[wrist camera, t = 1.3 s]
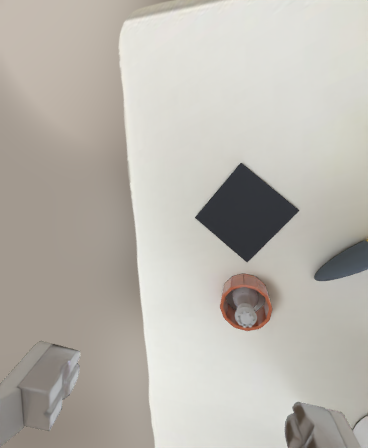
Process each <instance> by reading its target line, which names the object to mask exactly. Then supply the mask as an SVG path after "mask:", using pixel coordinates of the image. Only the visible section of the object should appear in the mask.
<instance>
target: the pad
mask: <svg viewBox="0 0 368 448" xmlns="http://www.w3.org/2000/svg"><path fill="white" fill-rule="evenodd" d="M298 211H299V210H298V209H297V208H296V207H294V206H293V205H292V204H291V203H289V202H288V201H287V200H286V199H285V198H283V197H282V196H281V195H280V194H278V193H277V192H276V191H275V190H274V189H272V188H271V187H270V186H269V185H267V184H266V183H265V182H264V181H263V180H261V179H260V178H259V177H258V176H256V175H255V174H254V173H253V172H252V171H250V170H249V169H248V168H247V167H246V166H244V165H243V164H242V163H240V165H239V166H238V167H237V168H236V169H235V171H234V172H233V173H232V174H231V175H230V177H229V178H228V179H227V180H226V181H225V182H224V184H223V185H222V186H221V187H220V188H219V190H218V191H217V192H216V193H215V194H214V196H213V197H212V198H211V199H210V200H209V202H208V203H207V204H206V205H205V206H204V208H203V209H202V210H201V211H200V212H199V213H198V215H197V216H196V217H195V218H196V219H197V220H198V221H200V222H201V223H202V224H203V225H204V226H205V227H207V228H208V229H209V230H210V231H211V232H212V233H214V234H215V235H216V236H217V237H218V238H219V239H221V240H222V241H223V242H224V243H225V244H226V245H227V246H229V247H230V248H231V249H232V250H233V251H234V252H236V253H237V254H238V255H239V256H240V257H241V258H243V259H244V260H245V261H246V262H248V261H249V260H250V259H251V258H252V257H253V256H254V255H255V254H256V253H257V252H258V251H259V250H260V249H261V248H262V247H263V246H264V245H265V244H266V243H267V242H268V241H269V240H270V239H271V238H272V237H273V236H274V235H275V234H276V233H277V232H278V231H279V230H280V229H281V228H282V227H283V226H284V225H285V224H286V223H287V222H288V221H289V220H290V219H291V218H292V217H293V216H294V215H295V214H296V213H297V212H298Z"/></svg>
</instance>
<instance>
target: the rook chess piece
mask: <svg viewBox="0 0 368 448" xmlns="http://www.w3.org/2000/svg"><path fill="white" fill-rule="evenodd" d="M232 296H233V302H234V304H235V305H236V306H237V310H236V312H235V319H236V321H237V322H238V324H239V325H242V326H243V328H246V327H248V326H249V328H250V327H252V325H254V324H255V322H256V320H257V315H256V313H255V310H254V307H255V306H256V305H257V302H258V295H257V292H256V290H255V289H251V288H247V287H241V288H237V289H234V291H233V295H232Z"/></svg>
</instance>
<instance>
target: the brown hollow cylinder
mask: <svg viewBox="0 0 368 448" xmlns="http://www.w3.org/2000/svg"><path fill="white" fill-rule="evenodd" d="M241 287H247V288H251V289H255V290H257V291H258V292H259V293H260V294H261V295H263V296H264V297H265V302H264V305H263V306H262V307H261V308H260V309H259V310H257V311H256V312H255V313H256V315H257V320H256V322H255V324H254V325H252V327H250V328H249V326H248V327H246V328H243V326H242V325H239V324H238V322H237V321H236V319H235V312H236V310H234V309H233V308H232V307H231V306H230V305H229V304H228V302H227V299H226V296H227V295H228V294H229V293H230V292H231V291H232V290H233V289H237V288H241ZM220 309H221V311H222V314H223V317H224V318H225V320H226V321H228V322H229V323H230V324H231V325H232V326H233V327H235V328H238V329H242V330H245V331H250V330H256V329H259V328H261V327H263V326H264V325H265V324H266V323H267V322H268V321H269V320H270V316H271V313H272V305H271V301H270V297H269V294H268V291H267V288H266V285H265V284H264V283H263V282H262V281H261V280H259V279H258V278H257V277H255V276H252V275H248V274H239V275H235V276H232V277H231V278H230V279H229V280H228V281H227V282H226V283H225V284H224V287H223V292H222V298H221V303H220Z"/></svg>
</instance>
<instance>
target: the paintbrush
mask: <svg viewBox="0 0 368 448" xmlns="http://www.w3.org/2000/svg"><path fill="white" fill-rule="evenodd" d="M367 269H368V239H367V240H364V241H362V242H360V243H358V244H356V245H354V246H352V247H350V248H348V249H347V250H345V251H343V252H342V253H340V254H339V255H337V256H335V257H334V258H333V259H331V260H330V261H328V262H327V263H326V264H325V265H323V266H322V267H321V268H320V269H319V270H318V271H317V272H316V274H315V276H314V279H315V280H317V281H329V280H334V279H339V278H343V277H346V276H350V275H353V274H356V273H359V272H361V271H364V270H367Z"/></svg>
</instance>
